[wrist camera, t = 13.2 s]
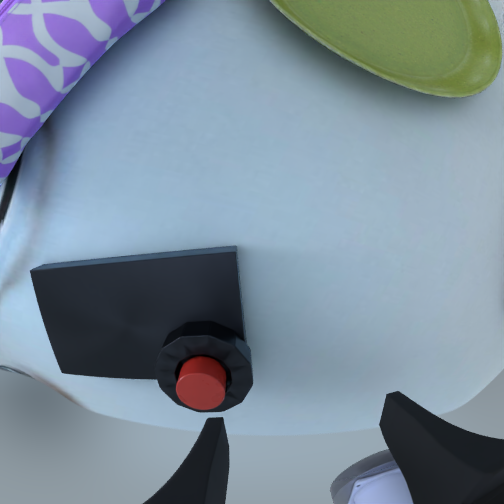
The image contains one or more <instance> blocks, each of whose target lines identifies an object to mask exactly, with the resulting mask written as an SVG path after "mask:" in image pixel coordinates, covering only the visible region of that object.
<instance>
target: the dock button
mask: <svg viewBox="0 0 504 504" xmlns="http://www.w3.org/2000/svg"><path fill="white" fill-rule="evenodd" d="M225 389H226V371H225V369H224V367H223V366H222V365H221V364H220V363H219V362H218V361H216V360H215V359H213V358H210V357H206V356H196V357H193V358H190V359H188V360H187V361H186V362H185V363H184V364H183V366H182V368H181V371H180V375H179V378H178V381H177V384H176V392H177V395H178V397H179V398H180V400H181V401H182V402H183V403H184V404H186V405H188V406H189V407H192V408H195V409H199V410H208V409H212V408H215V407H217V406H218V405H220V404H221V403H222V401H223V400H224V398H225Z"/></svg>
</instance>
